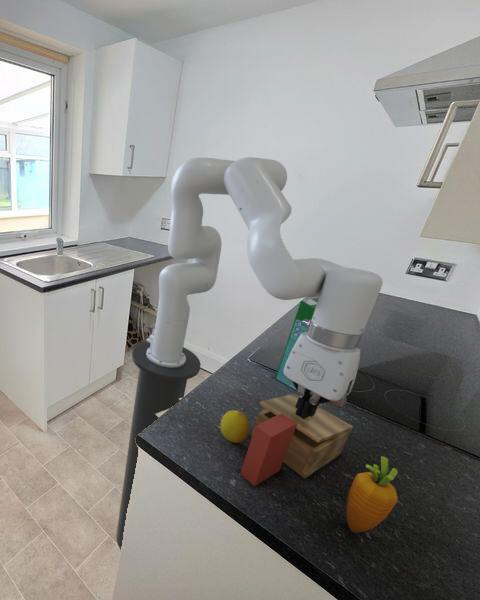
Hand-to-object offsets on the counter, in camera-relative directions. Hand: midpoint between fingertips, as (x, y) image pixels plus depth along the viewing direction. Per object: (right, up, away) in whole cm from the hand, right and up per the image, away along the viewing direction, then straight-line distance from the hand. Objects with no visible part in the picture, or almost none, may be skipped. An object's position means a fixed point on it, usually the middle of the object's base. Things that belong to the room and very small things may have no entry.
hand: (303, 414), depth 64 cm
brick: (-10, -10, -2) cm, 15 cm away
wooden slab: (+1, -1, +1) cm, 2 cm away
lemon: (-13, -8, +5) cm, 16 cm away
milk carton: (+18, -1, +27) cm, 32 cm away
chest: (+1, -8, +4) cm, 10 cm away
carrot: (-1, -15, -12) cm, 19 cm away
